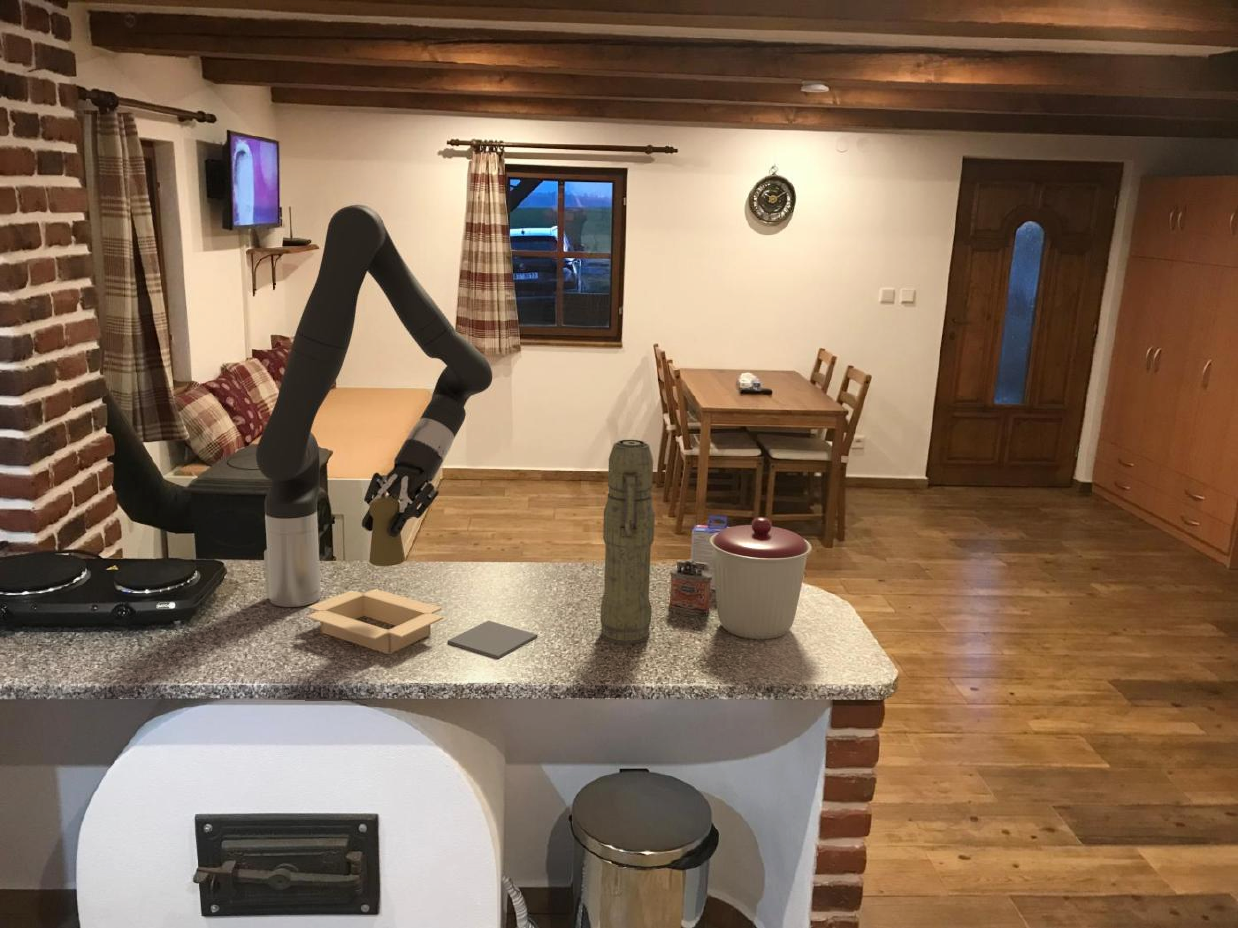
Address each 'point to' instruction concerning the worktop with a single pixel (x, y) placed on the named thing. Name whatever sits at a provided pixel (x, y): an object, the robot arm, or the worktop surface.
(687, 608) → the lighter
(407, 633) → the carton
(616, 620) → the thermos
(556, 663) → the worktop surface
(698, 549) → the ink cartridge box
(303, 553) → the robot arm
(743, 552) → the canister
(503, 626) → the mat
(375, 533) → the cork
